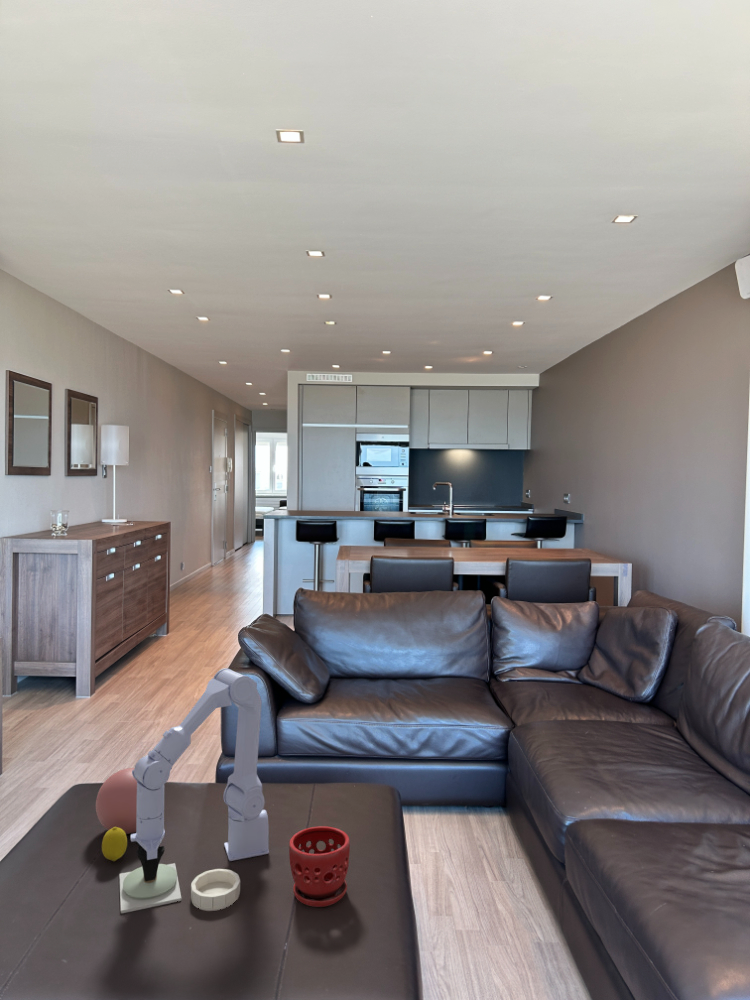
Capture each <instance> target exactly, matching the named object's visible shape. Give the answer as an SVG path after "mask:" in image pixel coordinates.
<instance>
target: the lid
mask: <svg viewBox="0 0 750 1000" xmlns="http://www.w3.org/2000/svg"><path fill="white" fill-rule="evenodd" d="M176 871H177V869H176V870H175V869H174V868H173V867H171V866H169V865H168V864H164V863H159V865H158V870H157V875H156V878H155V880H150V881H145V879H144V874H143V867H142V866H140V867H138V868H135V869H134V870H132V871H130V872H131V873H129V874H128V875H127V876H126V877H125V879H124V881H123V890H124V892H125V893H126V894H127V895H129V896H131V897H135V898H150V897H154V896H158V895H160V894H162V893H165V892H166V891H168V890H169V889H171V888H172V887H173V886H174V884H175V883H176V880H177V877H178V871H177V872H176Z"/></svg>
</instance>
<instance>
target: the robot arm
mask: <svg viewBox="0 0 750 1000" xmlns="http://www.w3.org/2000/svg"><path fill="white" fill-rule="evenodd" d="M232 703H233V704H234V705H235V706H236V707H237V709H238V711H237V721H236V722H237V724H236V736H235V737H236V738H235V750H234V752H235V753H234V765H233V772H232V773H231V774H230V775H229V776H228V777H227V784H226V787H225V788H224V791H223V802H224V803H225V805H227V811H228V814H227V815H228V817H227V818H228V821H227V822H228V823H227V824H228V828H227V829H228V833H227V836H228V837H227V842H224V843H223V845H224V848H225V852H226V855H227V859H228V860H229V862H232V861H238V860H242V859H243V860H244V859H248V858H252V857H253V858H254V857H257V856H263V855H267V854H269V853H270V851H269V834H270V833H269V830H270V829H269V828H270V827H269V826H270V825H269V817H268V813H267V810H266V809H264V807H265V803H266V802H265V797H264V794H263V784H262V782H261V780H260V778H259V776H258V771H257V770H258V760H259V759H258V757H259V745H260V732H261V730H260V728H261V717H262V716H261V714H262V705H263V704H262V698H261V696H260V693H259V691H258V683H257V682H256V681H255V680H254V679H252V678H251V677H250V676H248V675H244V674H241V673H239V672H237V671H234V670H232V669H230V668H228V667H227V668H226V667H225V668H221V669H220V670H219V669H218V671H217V672H216V673H215V674H214V675H213V678H211V679H210V680H209V681H208V682H207V685H206V687H205V690H204V692H203V693H202V695H201V696H200V697H199V699H198V700H197V702H196V703H195V704H194V705H193V707H192V708H191V710H190V711H189V712H188V714H187V715H186V716H185V718H184V719H183V720H182V722H180V724H179V725H177V726H172V727H170V728H169V729H168V730H165V731H164V732H163V734H162V736H163V737H162V738H161V739H160V740H159V741H158V743H156V745H155V746H154V748H152V750H150V751H148V752H147V754H146V755H144V756H141V758H140V759H139V760H137V762H136V763H135V766H134V768H135V769H134V770H132V775H133V777H134V778H135V779H136V781H137V814H136V815H137V818H136V832H134V833H130V841H131V842H135V844H136V845H137V847H138V848H137V849H136V856H137V858H138V859H139V861H140V864H141V867H143V874H144V879H145V881H150V880H155V878H156V875H157V870H158V865H159V864H160V861H161V859H162V857H163V855H164V853H165V850H166V849H165V845H161V843H162V841H163V840H164V837H165V835H166V834H165V833H166V830H165V784H166V783H168V781H169V779H170V774H171V770H172V769H173V766H174V765H175V763H177V762H178V760H179V759H180V757H181V756H182V755H183V753H184V752H186V751H187V749H188V748H189V747H190V745H191V742H192V735H193V734H194V733H195V732H196V731H197V729H198V728H199V727H200V726H201V725H202V724H203V723H204V722H205V721H206V720H207V719H208V718H209V716H211V715H212V714H213V712H214V711H215V710H216V709H218V708H225V707H230V706H232V705H233V704H232ZM160 845H161V846H160Z"/></svg>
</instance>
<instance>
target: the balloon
mask: <svg viewBox="0 0 750 1000" xmlns="http://www.w3.org/2000/svg"><path fill="white" fill-rule="evenodd" d="M134 769H135V767H129V768H128V767H127V768H123V769H120V770H117V771H115V772H114V773H113V774H111V775H110V776H108V778H107V779H106V780H105V781H104V782H103V783H102V785H101V786H100V788H99V790H98V791H97V796H96V800H95V811H96V812H95V813H96V816H97V819H98V821H99V822H100V824H101V825H102V826H103V828H105V829H106V830H107V831H109V830H110V829H112V828H113V827H118V828H121V829H122V830H124V832H125V833H126V835H129V834H134V833H136V818H137V815H136V814H137V781H136V779H135V778H134V777H133V775H132V770H134Z"/></svg>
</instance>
